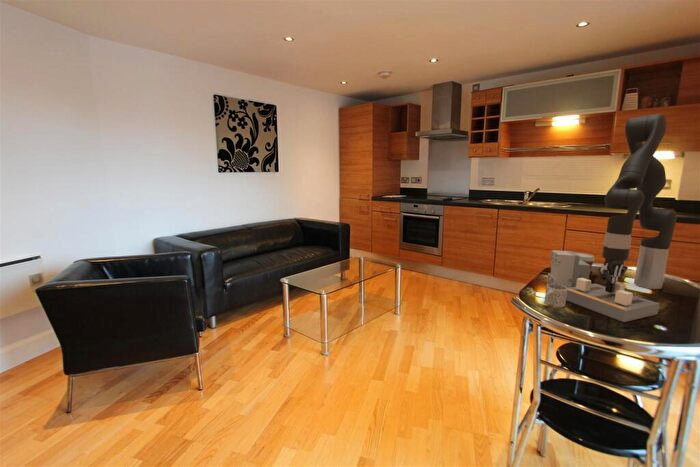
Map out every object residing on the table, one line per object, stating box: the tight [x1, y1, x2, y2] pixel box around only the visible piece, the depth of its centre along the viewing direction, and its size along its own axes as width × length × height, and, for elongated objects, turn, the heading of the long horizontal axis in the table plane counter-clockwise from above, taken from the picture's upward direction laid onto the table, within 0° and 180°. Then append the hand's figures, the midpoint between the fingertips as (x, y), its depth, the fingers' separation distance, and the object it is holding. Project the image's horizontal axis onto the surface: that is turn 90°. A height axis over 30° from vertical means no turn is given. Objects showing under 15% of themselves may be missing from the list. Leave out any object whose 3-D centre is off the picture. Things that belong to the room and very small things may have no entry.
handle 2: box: [614, 290, 634, 306], centre depth 118 cm, size 3×4×4 cm
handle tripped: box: [612, 281, 626, 295], centre depth 127 cm, size 3×4×4 cm
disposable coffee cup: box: [575, 252, 596, 271], centre depth 154 cm, size 10×10×12 cm
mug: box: [544, 284, 567, 308], centre depth 127 cm, size 10×7×7 cm, turn 121°
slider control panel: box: [566, 283, 661, 323], centre depth 127 cm, size 18×22×4 cm
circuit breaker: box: [546, 249, 593, 288], centre depth 145 cm, size 8×14×15 cm, turn 78°
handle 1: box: [575, 278, 592, 292], centre depth 131 cm, size 3×4×4 cm
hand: (609, 291), depth 126 cm, fingers closed
